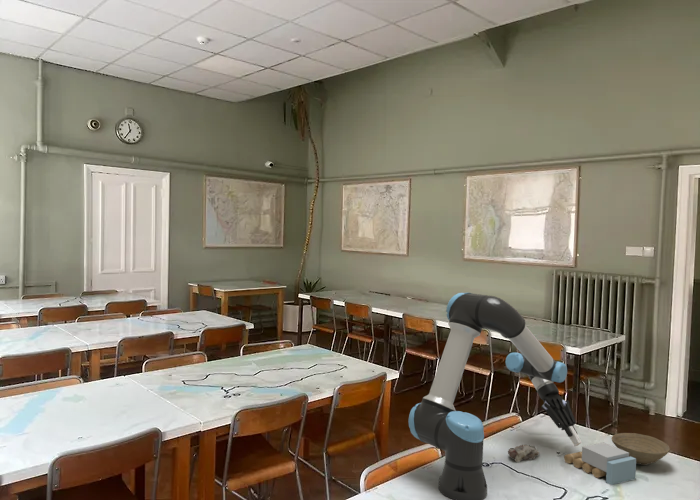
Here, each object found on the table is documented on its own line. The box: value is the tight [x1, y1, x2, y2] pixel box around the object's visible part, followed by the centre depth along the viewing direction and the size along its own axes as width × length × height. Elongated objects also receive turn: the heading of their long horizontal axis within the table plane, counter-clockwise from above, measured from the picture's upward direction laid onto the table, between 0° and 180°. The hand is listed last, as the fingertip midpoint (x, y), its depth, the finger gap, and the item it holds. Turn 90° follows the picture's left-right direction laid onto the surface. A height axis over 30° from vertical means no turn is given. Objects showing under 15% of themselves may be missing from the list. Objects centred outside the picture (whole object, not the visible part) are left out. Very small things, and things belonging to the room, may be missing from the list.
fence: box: [605, 456, 637, 486], centre depth 173 cm, size 12×2×7 cm, turn 115°
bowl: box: [611, 432, 671, 466], centre depth 188 cm, size 18×18×8 cm
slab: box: [581, 441, 629, 472], centre depth 179 cm, size 11×10×5 cm
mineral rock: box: [507, 444, 540, 463], centre depth 190 cm, size 15×8×4 cm, turn 109°
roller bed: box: [563, 451, 606, 478], centre depth 183 cm, size 12×15×3 cm
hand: (578, 444), depth 189 cm, fingers closed
